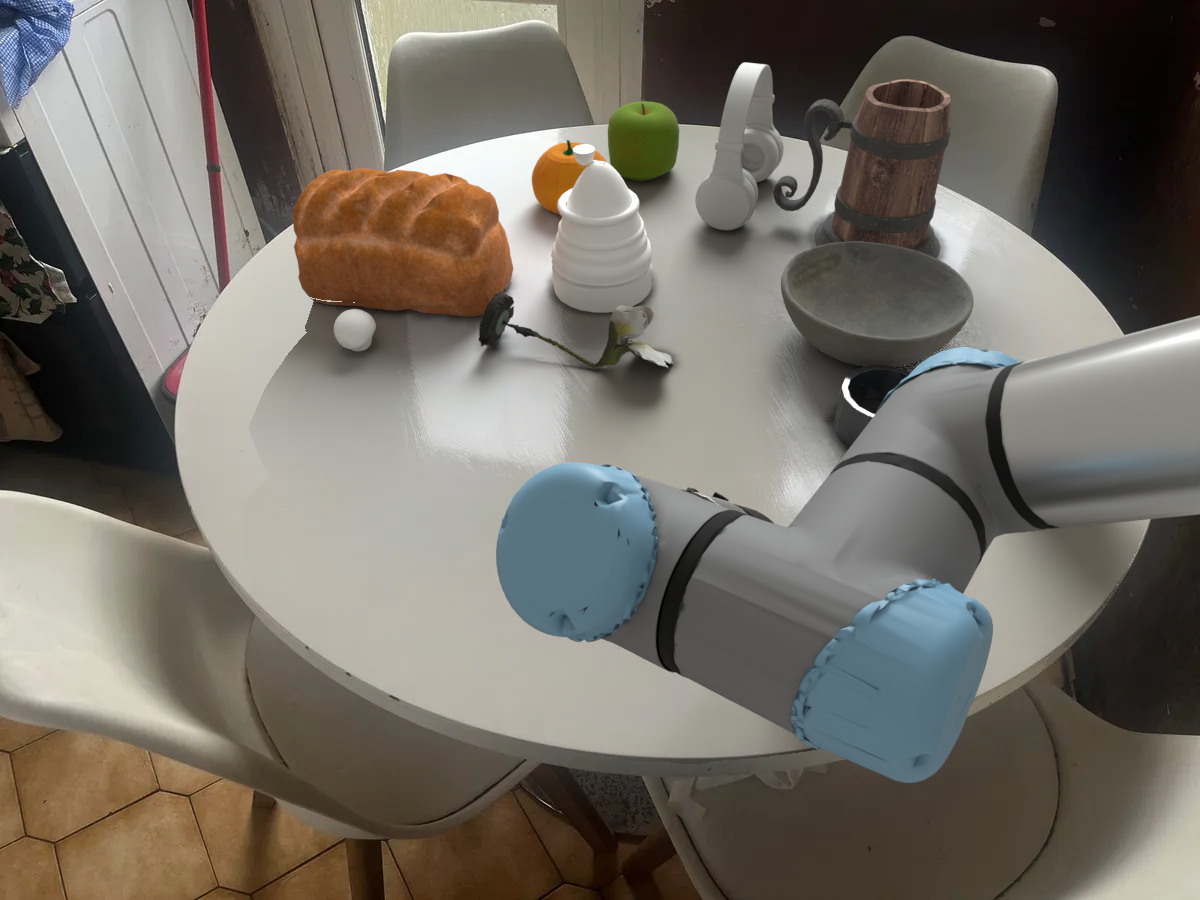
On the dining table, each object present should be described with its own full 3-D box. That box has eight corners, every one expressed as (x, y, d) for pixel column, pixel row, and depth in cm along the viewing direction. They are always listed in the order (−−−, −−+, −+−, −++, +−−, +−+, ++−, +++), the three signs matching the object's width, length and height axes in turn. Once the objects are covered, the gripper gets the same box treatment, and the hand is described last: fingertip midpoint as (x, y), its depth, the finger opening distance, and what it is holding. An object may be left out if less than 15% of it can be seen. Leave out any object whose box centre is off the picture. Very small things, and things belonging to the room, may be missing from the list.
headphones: (729, 168, 135) (739, 39, 122) (781, 176, 133) (798, 45, 120) (691, 227, 122) (699, 90, 109) (749, 237, 120) (764, 98, 106)
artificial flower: (506, 327, 107) (518, 251, 102) (673, 386, 102) (693, 310, 97) (471, 350, 100) (482, 270, 95) (649, 415, 95) (670, 334, 90)
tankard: (949, 223, 121) (989, 79, 107) (928, 283, 110) (971, 130, 96) (787, 194, 129) (805, 56, 115) (753, 248, 118) (769, 101, 104)
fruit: (598, 229, 122) (596, 162, 116) (521, 218, 125) (515, 152, 118) (621, 192, 131) (621, 127, 124) (549, 182, 133) (545, 119, 126)
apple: (670, 191, 130) (673, 120, 123) (601, 185, 132) (600, 115, 125) (682, 159, 138) (685, 91, 131) (617, 154, 140) (616, 86, 133)
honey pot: (536, 299, 110) (524, 165, 97) (580, 251, 118) (573, 122, 106) (628, 321, 106) (627, 184, 93) (666, 270, 114) (670, 138, 102)
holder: (938, 428, 90) (951, 392, 87) (891, 471, 86) (902, 434, 82) (865, 390, 95) (874, 354, 91) (816, 429, 90) (824, 392, 87)
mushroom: (379, 357, 101) (370, 322, 98) (337, 361, 101) (327, 327, 98) (381, 333, 105) (372, 298, 102) (341, 337, 105) (331, 303, 101)
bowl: (735, 336, 103) (741, 279, 97) (846, 273, 112) (857, 218, 107) (882, 424, 91) (898, 364, 85) (991, 345, 100) (1012, 287, 95)
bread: (490, 326, 106) (474, 211, 95) (293, 306, 110) (257, 193, 99) (520, 267, 115) (509, 157, 105) (338, 250, 120) (310, 143, 109)
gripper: (531, 506, 55) (678, 534, 73) (863, 772, 42) (945, 727, 59) (588, 406, 54) (724, 459, 72) (947, 645, 41) (1005, 638, 58)
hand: (824, 581), depth 66 cm, fingers open, 13 cm apart
